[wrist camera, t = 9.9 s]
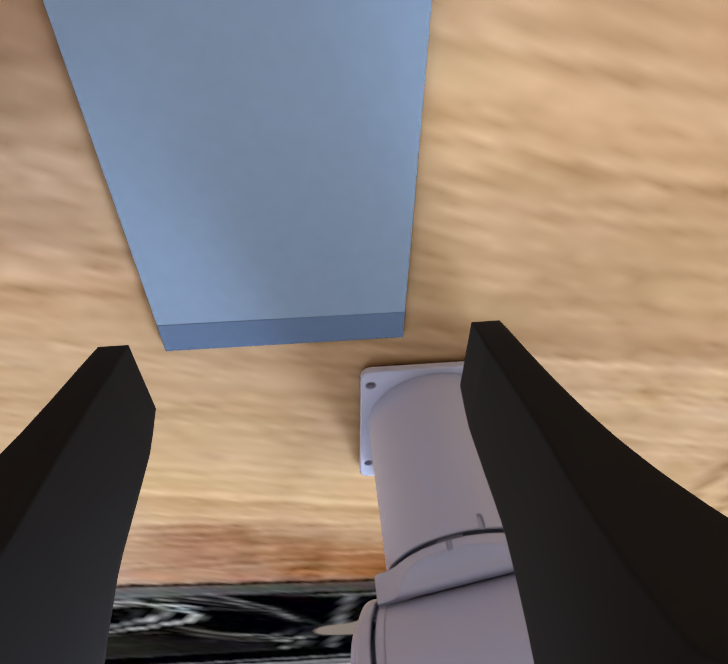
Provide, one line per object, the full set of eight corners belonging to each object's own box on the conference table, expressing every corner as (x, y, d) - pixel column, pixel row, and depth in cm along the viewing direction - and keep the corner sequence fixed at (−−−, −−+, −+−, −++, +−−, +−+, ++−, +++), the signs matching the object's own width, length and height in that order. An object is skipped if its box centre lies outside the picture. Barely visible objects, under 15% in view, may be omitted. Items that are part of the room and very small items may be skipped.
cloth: (401, 332, 25) (402, 337, 25) (166, 346, 24) (165, 351, 24) (458, -340, 11) (462, -345, 11) (-81, -366, 10) (-89, -370, 10)
